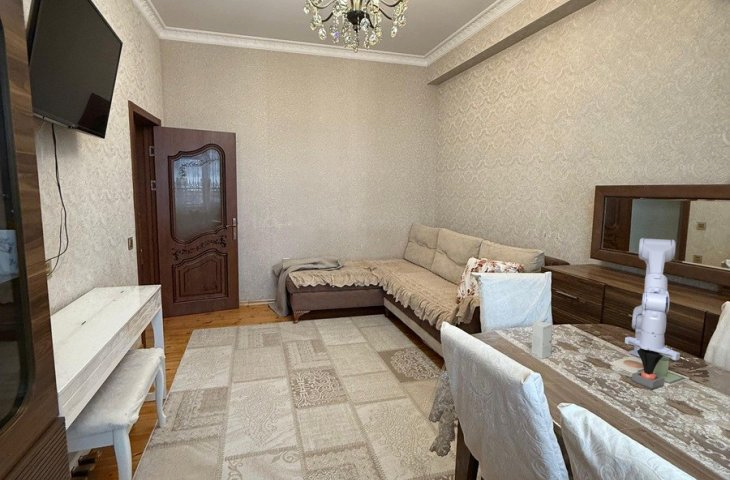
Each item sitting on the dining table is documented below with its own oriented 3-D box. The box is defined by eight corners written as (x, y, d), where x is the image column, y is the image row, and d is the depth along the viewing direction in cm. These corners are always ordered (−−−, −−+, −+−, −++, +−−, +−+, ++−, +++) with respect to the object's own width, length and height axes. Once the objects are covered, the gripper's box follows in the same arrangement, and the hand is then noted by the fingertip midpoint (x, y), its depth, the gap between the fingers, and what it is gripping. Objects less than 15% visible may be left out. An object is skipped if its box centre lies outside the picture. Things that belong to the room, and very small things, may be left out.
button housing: (643, 377, 124) (643, 370, 124) (663, 385, 119) (664, 378, 119) (631, 381, 122) (632, 373, 122) (652, 389, 116) (653, 382, 116)
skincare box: (541, 359, 138) (543, 327, 136) (530, 355, 141) (532, 323, 140) (551, 355, 141) (553, 323, 140) (540, 351, 145) (542, 320, 143)
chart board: (630, 357, 139) (630, 355, 139) (689, 379, 123) (689, 377, 123) (609, 363, 134) (609, 361, 134) (667, 387, 118) (667, 385, 118)
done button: (645, 376, 123) (645, 369, 122) (657, 381, 119) (658, 374, 119) (638, 379, 121) (638, 371, 121) (650, 384, 118) (651, 376, 118)
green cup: (655, 370, 128) (657, 350, 127) (669, 374, 125) (671, 353, 124) (652, 374, 125) (654, 353, 124) (666, 378, 123) (668, 357, 122)
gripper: (620, 325, 123) (616, 366, 125) (671, 341, 110) (667, 386, 112) (634, 322, 126) (630, 362, 128) (685, 337, 113) (681, 381, 115)
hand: (648, 373), depth 120 cm, fingers closed, pressing on done button
